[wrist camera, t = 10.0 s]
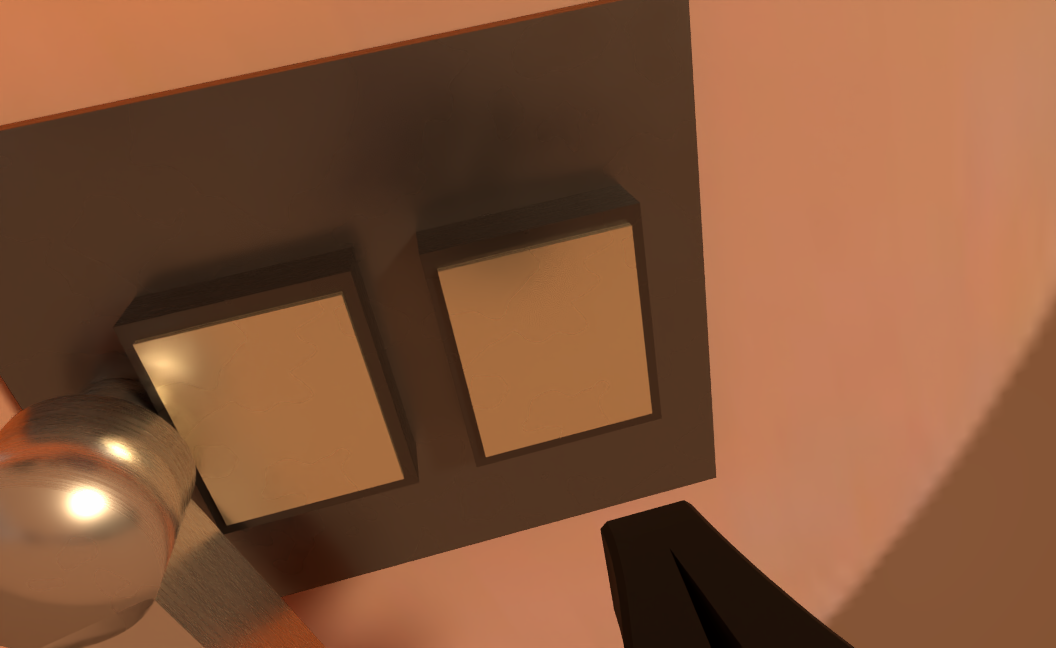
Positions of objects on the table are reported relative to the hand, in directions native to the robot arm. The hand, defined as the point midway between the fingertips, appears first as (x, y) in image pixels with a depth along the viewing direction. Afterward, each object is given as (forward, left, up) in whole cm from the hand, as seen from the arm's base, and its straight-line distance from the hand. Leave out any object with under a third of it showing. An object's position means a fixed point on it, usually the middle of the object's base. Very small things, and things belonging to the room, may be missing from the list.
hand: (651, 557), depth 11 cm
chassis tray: (-4, 0, -9) cm, 10 cm away
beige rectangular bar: (-9, -6, -6) cm, 13 cm away
